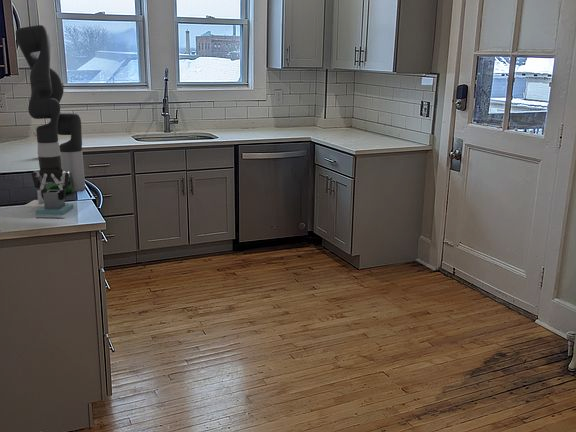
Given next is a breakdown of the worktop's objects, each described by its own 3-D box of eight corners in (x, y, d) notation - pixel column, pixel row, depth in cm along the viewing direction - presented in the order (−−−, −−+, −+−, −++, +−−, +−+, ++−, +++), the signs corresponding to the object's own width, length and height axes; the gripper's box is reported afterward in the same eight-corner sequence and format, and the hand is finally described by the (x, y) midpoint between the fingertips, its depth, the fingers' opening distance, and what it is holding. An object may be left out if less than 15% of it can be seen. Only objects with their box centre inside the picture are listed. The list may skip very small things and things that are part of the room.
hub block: (48, 211, 227) (46, 190, 225) (74, 211, 227) (72, 190, 225) (36, 218, 218) (33, 196, 216) (63, 218, 217) (61, 197, 215)
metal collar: (51, 205, 224) (49, 189, 223) (65, 205, 224) (63, 189, 222) (44, 208, 219) (42, 193, 217) (59, 209, 219) (57, 193, 217)
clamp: (49, 209, 248) (36, 191, 243) (51, 202, 253) (39, 184, 248) (75, 197, 248) (63, 180, 243) (77, 191, 253) (65, 173, 248)
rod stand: (34, 203, 239) (33, 187, 237) (59, 203, 238) (57, 187, 237) (23, 209, 229) (21, 193, 228) (48, 210, 229) (46, 193, 227)
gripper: (72, 152, 220) (77, 197, 224) (34, 152, 220) (39, 196, 225) (64, 156, 212) (69, 202, 217) (25, 156, 213) (30, 201, 217)
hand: (53, 199), depth 221 cm, fingers open, 6 cm apart
